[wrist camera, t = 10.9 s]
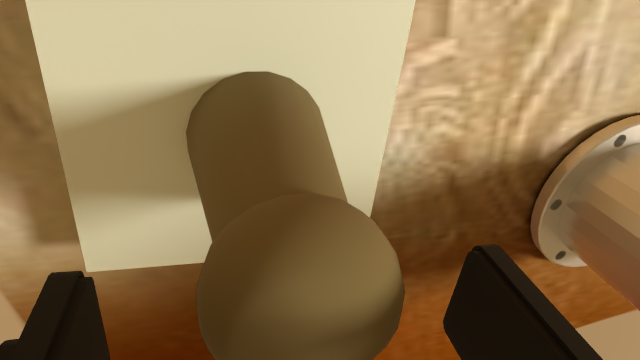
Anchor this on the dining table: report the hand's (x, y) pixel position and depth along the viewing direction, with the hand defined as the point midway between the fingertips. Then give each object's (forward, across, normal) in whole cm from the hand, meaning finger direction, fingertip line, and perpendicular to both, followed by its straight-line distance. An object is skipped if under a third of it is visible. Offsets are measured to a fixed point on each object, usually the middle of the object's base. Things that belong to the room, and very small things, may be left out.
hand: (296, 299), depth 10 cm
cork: (+10, 0, 0) cm, 10 cm away
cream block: (+12, +1, 0) cm, 12 cm away
